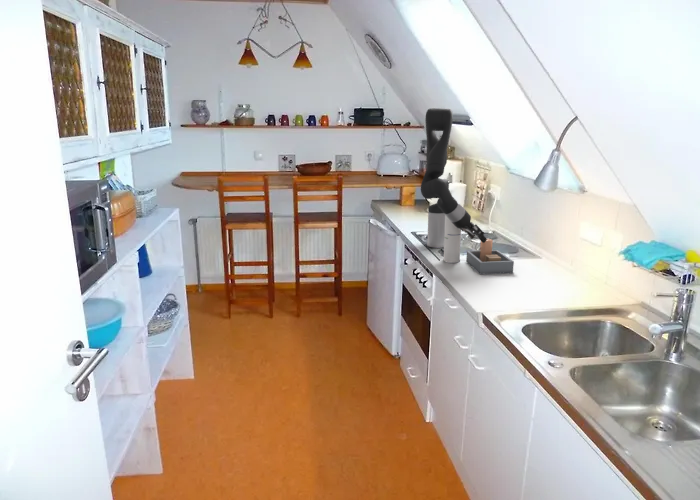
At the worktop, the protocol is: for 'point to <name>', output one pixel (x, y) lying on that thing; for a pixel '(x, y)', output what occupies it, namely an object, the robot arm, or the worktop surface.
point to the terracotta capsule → (485, 249)
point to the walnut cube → (492, 258)
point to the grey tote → (490, 263)
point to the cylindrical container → (451, 242)
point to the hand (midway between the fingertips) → (479, 238)
